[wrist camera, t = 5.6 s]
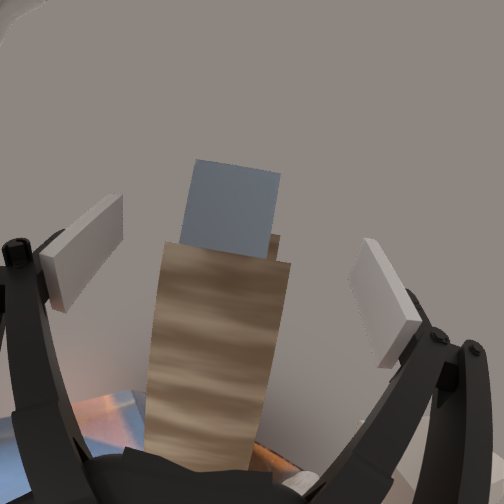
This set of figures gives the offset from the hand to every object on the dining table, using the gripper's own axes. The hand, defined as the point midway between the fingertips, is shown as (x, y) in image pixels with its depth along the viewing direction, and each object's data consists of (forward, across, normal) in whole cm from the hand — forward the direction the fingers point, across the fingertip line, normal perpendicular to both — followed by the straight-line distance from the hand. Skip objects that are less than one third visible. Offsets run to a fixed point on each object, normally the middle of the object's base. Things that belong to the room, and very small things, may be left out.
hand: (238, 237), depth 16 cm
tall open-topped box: (-3, -1, -36) cm, 37 cm away
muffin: (-5, +13, -35) cm, 38 cm away
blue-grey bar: (+8, -1, -6) cm, 10 cm away
